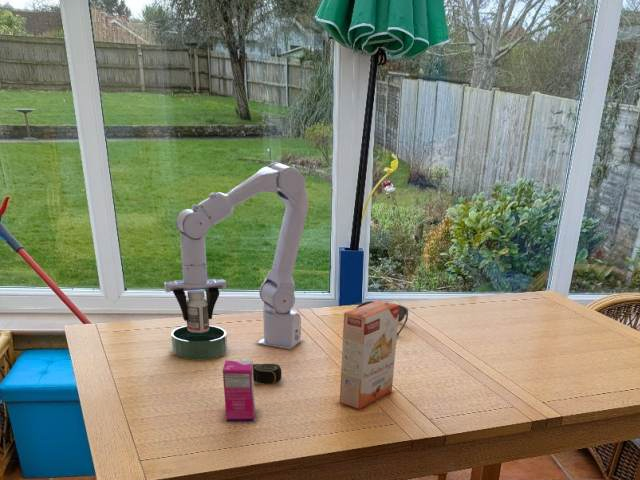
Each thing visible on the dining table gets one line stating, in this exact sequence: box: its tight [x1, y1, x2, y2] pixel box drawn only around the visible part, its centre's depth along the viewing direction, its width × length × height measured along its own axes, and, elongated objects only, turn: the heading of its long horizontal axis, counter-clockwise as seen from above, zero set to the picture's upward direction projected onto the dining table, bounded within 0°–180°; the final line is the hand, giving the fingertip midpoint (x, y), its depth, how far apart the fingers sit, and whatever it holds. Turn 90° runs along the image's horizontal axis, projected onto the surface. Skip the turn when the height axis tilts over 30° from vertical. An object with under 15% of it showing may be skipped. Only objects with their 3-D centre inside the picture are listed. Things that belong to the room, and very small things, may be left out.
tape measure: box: [253, 363, 282, 385], centre depth 169 cm, size 7×7×4 cm
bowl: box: [170, 324, 228, 361], centre depth 183 cm, size 13×13×5 cm
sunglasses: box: [354, 300, 409, 338], centre depth 211 cm, size 16×17×5 cm
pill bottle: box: [186, 290, 210, 333], centre depth 179 cm, size 5×5×10 cm
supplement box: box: [222, 359, 256, 423], centre depth 150 cm, size 6×6×12 cm
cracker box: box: [339, 299, 400, 410], centre depth 160 cm, size 14×6×21 cm, turn 148°
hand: (197, 318), depth 180 cm, fingers closed on pill bottle, 5 cm apart
